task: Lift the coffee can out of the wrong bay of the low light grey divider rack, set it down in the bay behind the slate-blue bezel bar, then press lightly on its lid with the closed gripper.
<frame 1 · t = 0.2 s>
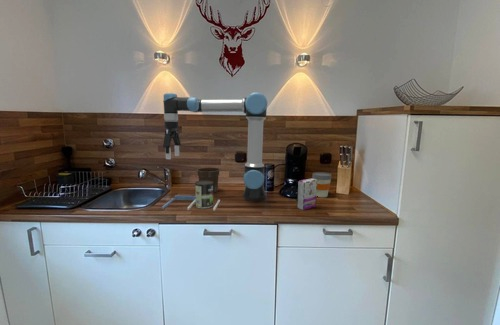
hand: (173, 157, 140), 28 cm above the countertop, tool pointing down, fingers open, 13 cm apart
plant pot: (208, 191, 168), on the countertop
divider rack: (192, 205, 140), on the countertop
candy bar box: (306, 207, 138), on the countertop
coffee can: (204, 205, 139), on the countertop
reusable coffee cup: (320, 195, 162), on the countertop
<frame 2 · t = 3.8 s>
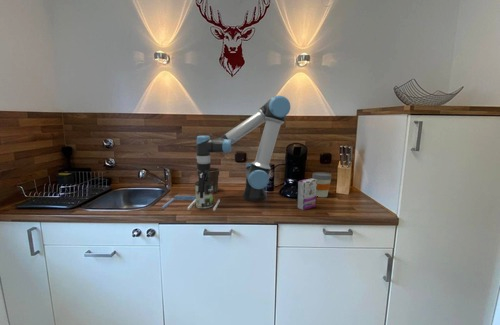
hand: (204, 200, 139), 3 cm above the countertop, tool pointing down, fingers closed on coffee can, 10 cm apart
coffee can: (204, 205, 139), on the countertop, touching gripper
everything else where it was.
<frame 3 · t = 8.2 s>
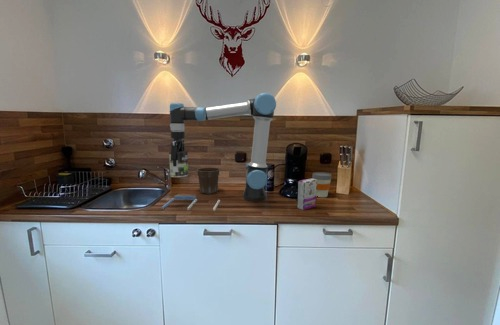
hand: (179, 170, 137), 21 cm above the countertop, tool pointing down, fingers closed on coffee can, 10 cm apart
coffee can: (179, 175, 137), point 17 cm above the countertop, touching gripper
everything else where it was.
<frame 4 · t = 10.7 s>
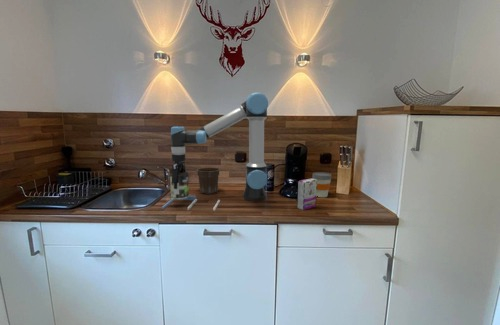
hand: (179, 191, 139), 8 cm above the countertop, tool pointing down, fingers closed on coffee can, 10 cm apart
coffee can: (179, 197, 139), point 5 cm above the countertop, touching gripper
everything else where it was.
when the fingers open (5 cm above the countertop, at t = 12.7 s): coffee can drops 1 cm, on the countertop.
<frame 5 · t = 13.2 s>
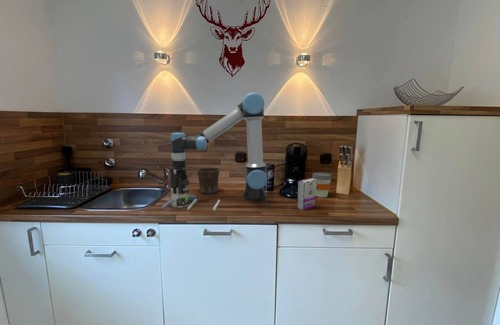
hand: (180, 195, 139), 6 cm above the countertop, tool pointing down, fingers open, 13 cm apart
coffee can: (180, 205, 140), on the countertop
everything else where it was.
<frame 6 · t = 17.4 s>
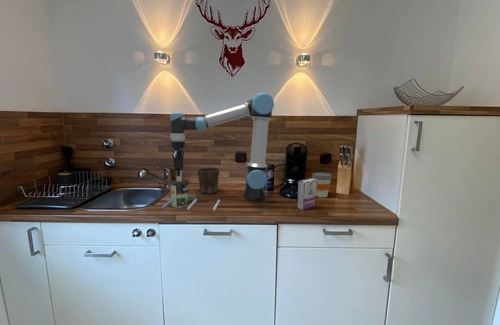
hand: (179, 181, 138), 14 cm above the countertop, tool pointing down, fingers closed
coffee can: (180, 205, 140), on the countertop, touching gripper
everything else where it was.
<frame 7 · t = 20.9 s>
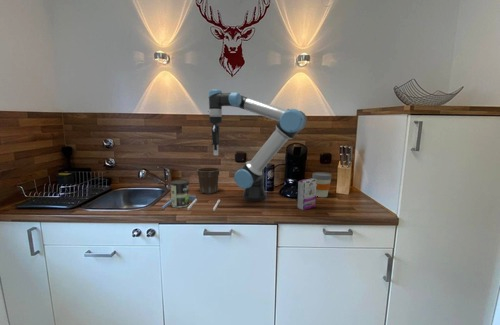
hand: (216, 155, 146), 28 cm above the countertop, tool pointing down, fingers closed
coffee can: (180, 205, 140), on the countertop
everything else where it was.
at the end: coffee can 0.1 cm from the target spot, on the countertop; coffee can tilted 0°; the gripper is holding nothing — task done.
